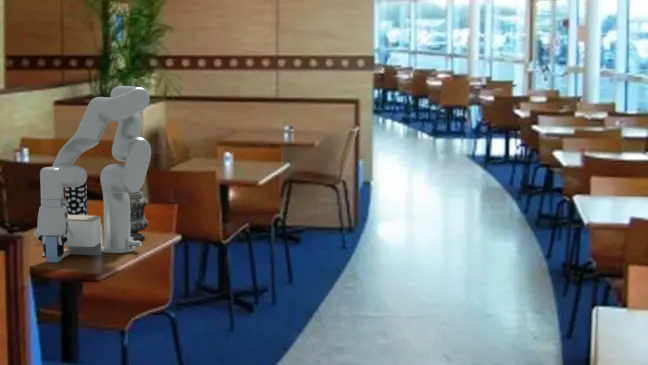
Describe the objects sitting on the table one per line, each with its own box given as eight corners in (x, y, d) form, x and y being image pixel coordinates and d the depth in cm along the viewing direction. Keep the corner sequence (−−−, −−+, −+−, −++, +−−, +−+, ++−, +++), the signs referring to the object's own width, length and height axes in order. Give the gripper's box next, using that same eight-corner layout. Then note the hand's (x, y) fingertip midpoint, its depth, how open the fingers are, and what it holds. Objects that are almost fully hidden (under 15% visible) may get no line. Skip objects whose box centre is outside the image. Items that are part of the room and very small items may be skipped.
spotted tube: (89, 231, 391) (88, 182, 388) (85, 235, 383) (84, 185, 380) (68, 231, 391) (67, 182, 388) (63, 235, 382) (62, 185, 380)
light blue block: (72, 253, 349) (71, 228, 348) (57, 262, 336) (56, 236, 335) (62, 253, 350) (61, 228, 349) (46, 262, 337) (45, 236, 335)
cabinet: (101, 254, 350) (101, 215, 348) (93, 259, 342) (92, 220, 340) (69, 253, 352) (68, 214, 350) (59, 258, 344) (59, 218, 342)
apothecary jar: (127, 233, 388) (127, 188, 386) (154, 236, 384) (153, 191, 382) (110, 239, 377) (110, 193, 375) (138, 242, 373) (137, 195, 370)
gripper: (79, 202, 338) (81, 254, 341) (34, 200, 340) (35, 252, 343) (71, 205, 331) (72, 258, 333) (24, 204, 333) (26, 256, 336)
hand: (53, 254), depth 338 cm, fingers closed on light blue block, 4 cm apart
